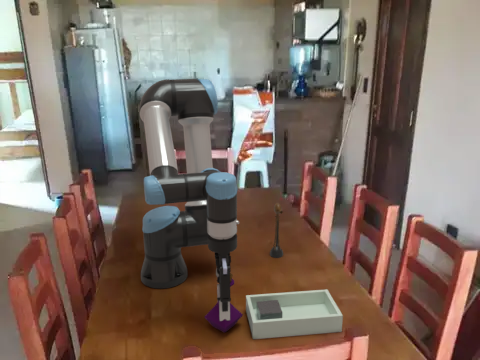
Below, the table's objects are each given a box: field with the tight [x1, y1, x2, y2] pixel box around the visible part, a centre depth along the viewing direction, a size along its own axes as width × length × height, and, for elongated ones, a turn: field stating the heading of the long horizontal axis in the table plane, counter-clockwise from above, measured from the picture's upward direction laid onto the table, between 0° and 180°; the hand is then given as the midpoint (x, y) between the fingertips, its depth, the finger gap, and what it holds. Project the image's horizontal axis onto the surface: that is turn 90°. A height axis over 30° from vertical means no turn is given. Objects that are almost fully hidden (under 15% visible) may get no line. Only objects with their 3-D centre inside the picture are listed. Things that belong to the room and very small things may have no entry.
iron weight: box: [256, 300, 282, 320], centre depth 120 cm, size 6×6×4 cm
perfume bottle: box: [204, 267, 243, 333], centre depth 117 cm, size 8×8×18 cm
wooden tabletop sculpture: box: [269, 202, 284, 259], centre depth 156 cm, size 6×5×20 cm
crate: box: [245, 288, 344, 340], centre depth 121 cm, size 24×13×5 cm, turn 97°
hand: (223, 312), depth 118 cm, fingers closed on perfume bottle, 6 cm apart
